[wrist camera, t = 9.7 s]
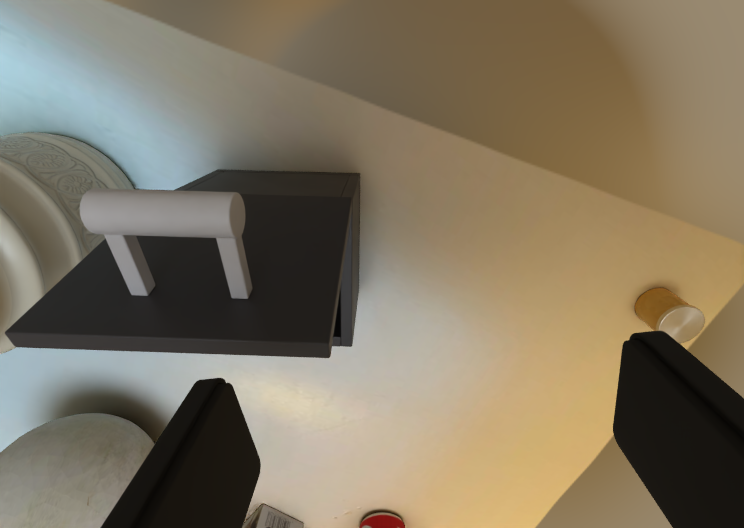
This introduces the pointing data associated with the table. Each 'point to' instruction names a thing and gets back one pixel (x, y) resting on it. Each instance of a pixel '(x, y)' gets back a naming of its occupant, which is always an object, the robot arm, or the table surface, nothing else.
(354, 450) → the table surface
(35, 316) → the lid
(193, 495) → the robot arm
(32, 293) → the jar
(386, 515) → the beverage can
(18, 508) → the decorative sphere
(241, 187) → the open storage bin
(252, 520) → the coffee box
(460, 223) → the table surface
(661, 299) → the coffee pod
